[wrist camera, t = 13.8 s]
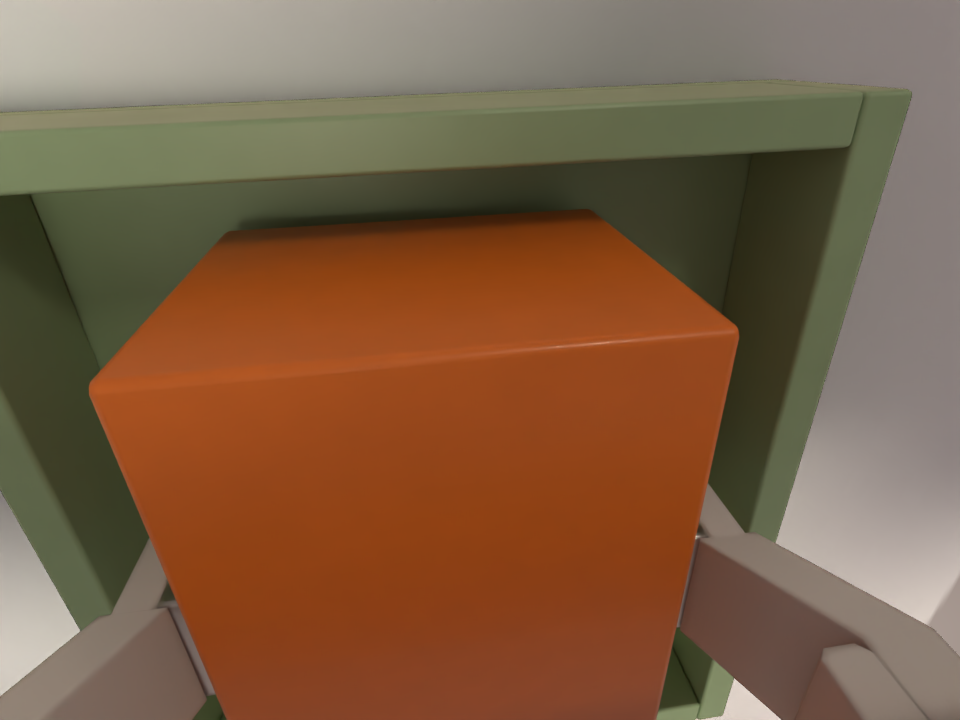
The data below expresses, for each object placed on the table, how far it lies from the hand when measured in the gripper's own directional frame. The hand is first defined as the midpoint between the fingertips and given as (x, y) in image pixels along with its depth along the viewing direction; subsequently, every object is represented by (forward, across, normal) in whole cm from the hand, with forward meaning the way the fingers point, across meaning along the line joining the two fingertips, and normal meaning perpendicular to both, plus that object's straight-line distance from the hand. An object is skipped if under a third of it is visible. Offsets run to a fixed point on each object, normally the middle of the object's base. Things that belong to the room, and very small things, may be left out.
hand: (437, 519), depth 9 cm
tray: (+2, 0, 0) cm, 2 cm away
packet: (+1, 0, 0) cm, 1 cm away
